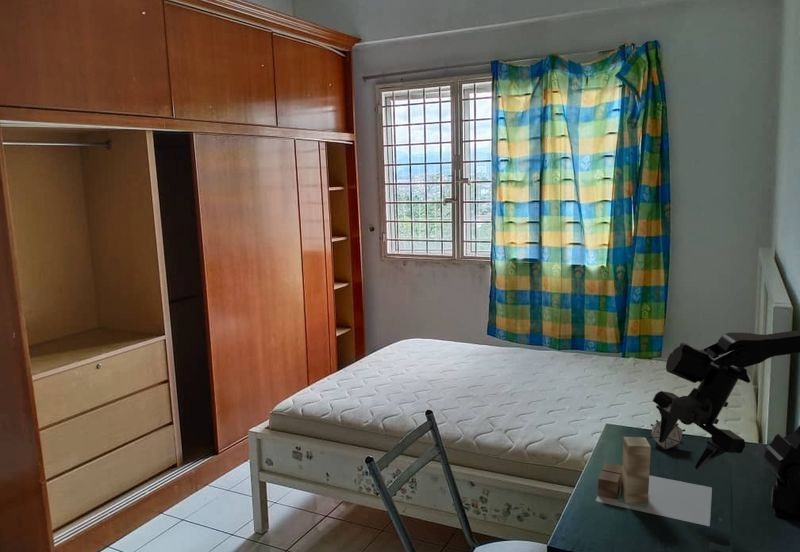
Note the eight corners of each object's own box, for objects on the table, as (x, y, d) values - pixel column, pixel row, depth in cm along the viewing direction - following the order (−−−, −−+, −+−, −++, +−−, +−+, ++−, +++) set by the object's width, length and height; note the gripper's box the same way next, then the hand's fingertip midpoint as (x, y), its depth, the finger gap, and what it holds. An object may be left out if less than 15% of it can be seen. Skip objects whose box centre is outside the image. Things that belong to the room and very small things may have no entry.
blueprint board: (711, 491, 138) (712, 487, 138) (709, 530, 123) (709, 525, 123) (608, 471, 148) (609, 466, 148) (595, 505, 133) (595, 500, 133)
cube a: (619, 491, 137) (620, 474, 136) (616, 499, 134) (617, 482, 133) (601, 487, 139) (601, 470, 138) (597, 495, 135) (598, 478, 135)
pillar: (642, 493, 136) (645, 437, 134) (647, 504, 131) (650, 446, 129) (621, 492, 136) (623, 436, 134) (625, 503, 132) (628, 445, 130)
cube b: (622, 482, 141) (623, 465, 140) (620, 490, 137) (620, 473, 137) (604, 478, 143) (605, 462, 142) (601, 486, 139) (602, 469, 139)
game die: (659, 463, 159) (637, 435, 158) (663, 440, 166) (642, 413, 164) (693, 456, 154) (670, 426, 152) (695, 432, 160) (674, 404, 159)
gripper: (654, 364, 131) (621, 427, 134) (733, 413, 115) (694, 483, 119) (684, 370, 137) (652, 430, 140) (763, 417, 122) (724, 484, 125)
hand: (678, 455), depth 131 cm, fingers open, 9 cm apart
